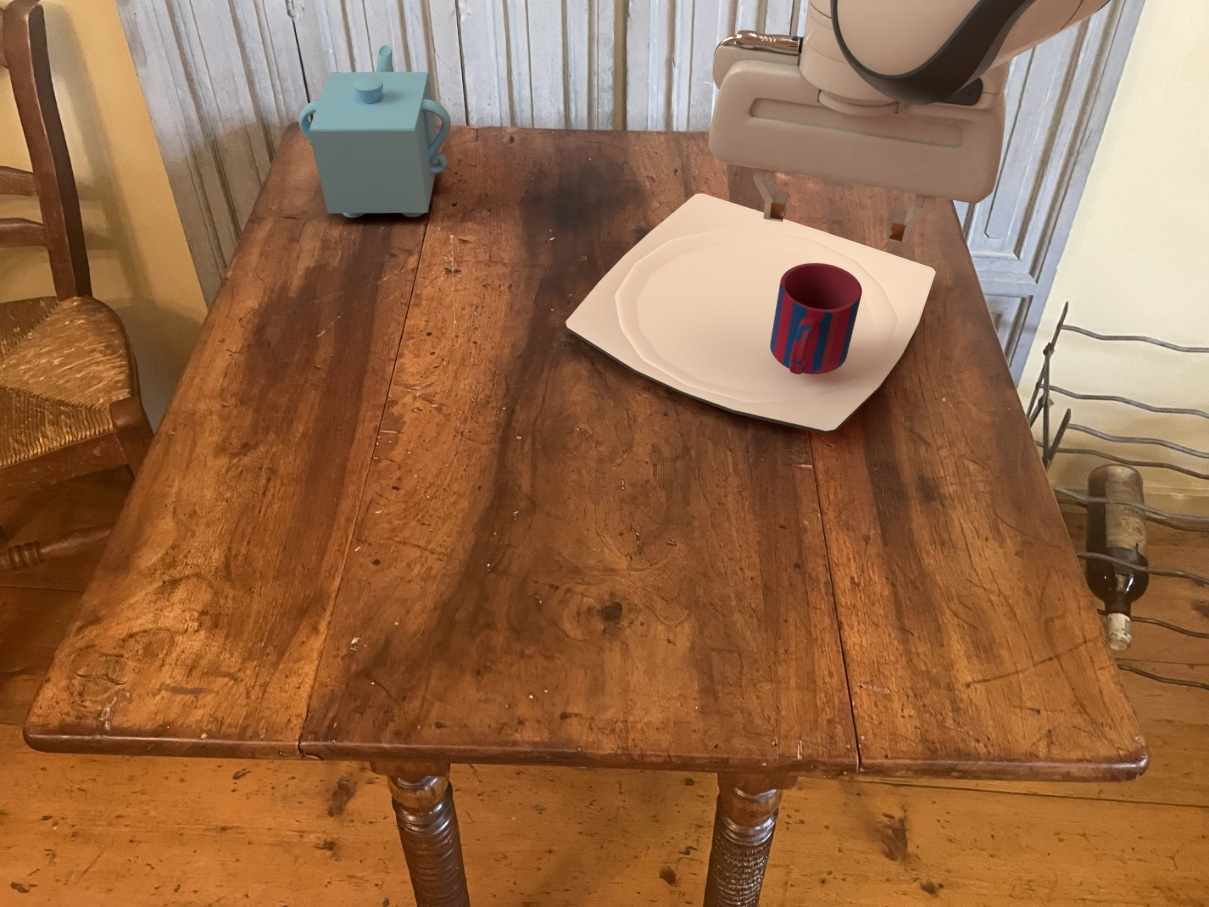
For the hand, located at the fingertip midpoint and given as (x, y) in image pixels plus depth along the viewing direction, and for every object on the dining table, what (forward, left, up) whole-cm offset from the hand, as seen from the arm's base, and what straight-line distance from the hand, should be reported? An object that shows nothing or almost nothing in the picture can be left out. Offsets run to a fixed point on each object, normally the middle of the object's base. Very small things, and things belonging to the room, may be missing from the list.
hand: (835, 227), depth 75 cm
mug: (+1, -1, -14) cm, 14 cm away
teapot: (+50, -19, -17) cm, 56 cm away
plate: (+6, -8, -17) cm, 20 cm away
